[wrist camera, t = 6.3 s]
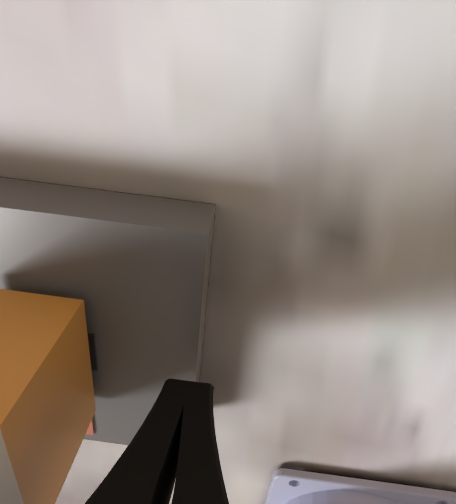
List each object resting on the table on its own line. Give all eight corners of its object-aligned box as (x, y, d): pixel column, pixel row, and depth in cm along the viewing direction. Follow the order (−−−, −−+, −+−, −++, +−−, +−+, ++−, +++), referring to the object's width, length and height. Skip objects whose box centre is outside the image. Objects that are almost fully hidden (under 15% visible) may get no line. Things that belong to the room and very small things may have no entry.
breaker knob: (83, 299, 11) (-20, 455, 7) (95, 410, 14) (24, 572, 10) (-16, 286, 11) (-176, 433, 7) (14, 398, 14) (-92, 555, 10)
